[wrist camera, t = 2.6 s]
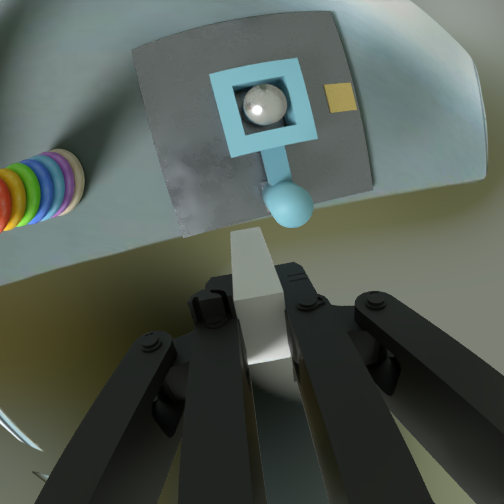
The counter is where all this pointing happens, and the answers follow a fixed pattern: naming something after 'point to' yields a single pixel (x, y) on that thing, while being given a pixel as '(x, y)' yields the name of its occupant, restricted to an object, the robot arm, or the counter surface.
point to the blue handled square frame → (270, 132)
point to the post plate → (202, 126)
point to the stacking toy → (40, 188)
